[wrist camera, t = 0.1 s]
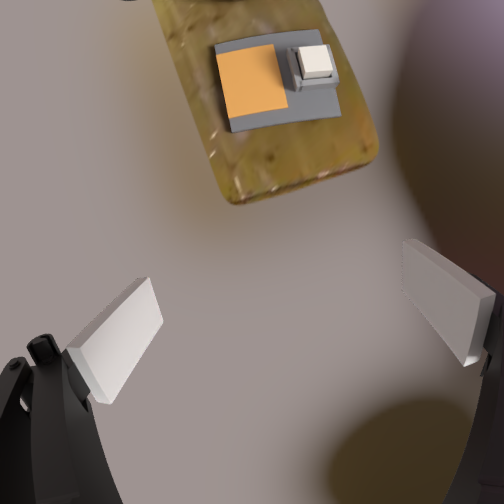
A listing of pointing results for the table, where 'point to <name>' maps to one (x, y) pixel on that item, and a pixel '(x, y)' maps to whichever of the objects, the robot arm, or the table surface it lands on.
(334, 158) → the table surface
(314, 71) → the button
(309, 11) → the table surface
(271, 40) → the plate
